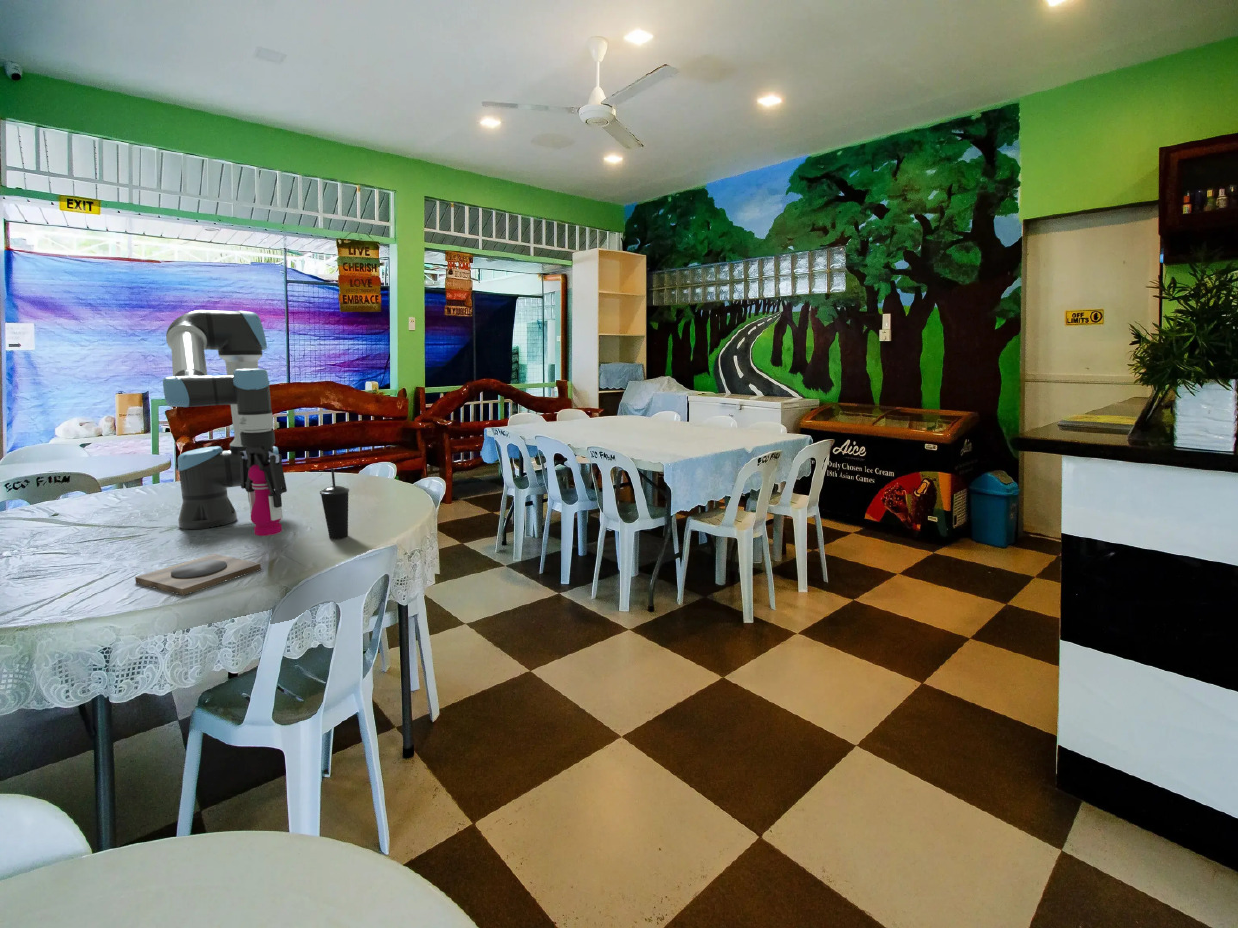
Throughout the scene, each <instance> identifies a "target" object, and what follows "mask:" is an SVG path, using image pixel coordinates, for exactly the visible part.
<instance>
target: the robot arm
mask: <svg viewBox="0 0 1238 928" xmlns="http://www.w3.org/2000/svg"><path fill="white" fill-rule="evenodd" d="M165 336H166V343H167V346H168V347H169V349H170V350H171V363H172V365H171V367H172V376H166V377H164V378H163V380H162V389H163V394H164V395H163V396H164V401H165V403H166V405H167V406H169V407H173V408H174V407H177V408H179V407H180V408H182V407H183V408H189V407H204V406H205V407H206V406H207V407H208V406H225V405H229V406H230V413H231V417H232V418H231V419H232V420H231V421H232V428H233V435H234V437H233V440H231V442H230V443H229V450H223V448H222V447H221V445H220V446H219V445H216V446H215V445H214V446H206V447H199V448H196V449H192V450H187V451H185V452H182V453H181V454H179V455H178V457H177V471H178V474H179V482H180V484H179V485H180V491H181V498H182V503H181V508H180V512H179V515H178V527H179V528H180V529H184V530H202V529H210V528H209V527H211V528H215V527H214V526H217V527H220V526H219V525H222V526H224V525H230V524H231V523H234V522H235V521H238V514H237V512H236V509H235V507H234V506H233V503H232V502H231V500H230V498H229V496H228V488H235V487H241V489H243V490H244V489H245V491H246V492H247V497H248V503H249V511H250V513H251V511H252V508H253V505H254V502H255V491H254V489H253V488H252V487H253V486H252V483H253V481H252V480H251V479H250V478H249V475H248V472H249V469H250V468H251V467H252V466H253V465H258V466H259V469H260V470H261V471H264V475H265V480H266V482H267V485H268V488H269V491H270V494H269V495H268V496H269V505H270V514H271V520H272V521H274V520H277V519H281V518H282V519H283V518H284V516H282V515H283V509H282V507H283V504H282V502H283V501H282V494H283V493H287V492H288V489H287V484H286V478H285V474H284V473H285V472H284V468H283V464H282V463H283V456H282V454H280V453H279V447H278V446H275V443H276V437H275V430H273V429H274V426H275V425H274V416H273V412H272V411H273V409H272V402H271V401H272V399H271V391H270V379H269V375H268V371H267V370H266V369H264V368H259V364H258V363H259V362H258V361H259V360H260V359H261V358H262V357H263V351H266V350H267V348H268V345H267V339H266V334H265V330H264V327H263V324H262V321H261V318H260V316H259V315H258V314H257V313H256V312H254V311H245V310H209V309H208V310H205V309H198V310H193V311H188V312H186V313H184V314H182V315H180V316H179V317H177V318H175V320H173V321H172V323H170V325H169V327H168V328H167V331H166V334H165ZM205 350H206V351H207V350H208V351H209V350H211V351H217V352H218V357H219V358H220V359H222V360H223V361H224V362H225V370H226V375H208V370H207V361H206V355H205ZM268 465H270V466H268ZM264 466H266V467H264ZM282 519H281V520H282Z"/></svg>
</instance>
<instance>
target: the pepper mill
mask: <svg viewBox="0 0 1238 928" xmlns="http://www.w3.org/2000/svg"><path fill="white" fill-rule="evenodd" d="M268 466H270V465H268ZM264 467H266V466H264ZM248 475H249V478H250V479H251V480H252V481H253V483H252V486H253V487H252V488H253V489H254V491H255V502H254V505H253V508H252V511H251V512H250V521H251V522H252V523H253V524H254V525H255V526H254V528H253V529H254V531H253V532H254V535H256V536H259V537H264V536H265V537H266V536H272V535H277V534H279V533H281V532H282V531H283V528H282V523H280V521H281V520H282V519H283V518H281V519H277V520H274V521H272V520H271V514H270V505H269V496H268V495H269V494H270V491H269V488H268V485H267V482H266V480H265V475H264V471H261V470H260V469H259V466H258V465H253V466H252V467H251V468H250V469H249V472H248ZM282 516H283V514H282ZM283 517H284V516H283Z"/></svg>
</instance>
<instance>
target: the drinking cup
mask: <svg viewBox="0 0 1238 928" xmlns="http://www.w3.org/2000/svg"><path fill="white" fill-rule="evenodd" d="M330 472H331V482H332V483H331V484H332V485H330V486H328V487H325V488H324V489H321V490H320V491H319V495H320V496H321V502H322V507H323V512H324V517H325V522H326V527H327V532H328V538H329V539H330V540H341V539H345V538H347V537H349V492H350V489H349V488H348V487H345V486H341V485H336V479H335V478H336V477H335V468H333V467H332V468H330Z"/></svg>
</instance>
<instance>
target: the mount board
mask: <svg viewBox="0 0 1238 928" xmlns="http://www.w3.org/2000/svg"><path fill="white" fill-rule="evenodd" d="M259 569H261V570H262V565H261V563H259V562H254V561H251V560H245V559H240V558H235V557H231V556H227V555H222V554H217V553H213V554H209V555H205V556H202V557H199V558H195V559H192V560H191V559H190V560H189V561H185V562H183V563H179V564H175V565H171V566H167V567H165V568H161V569H157V570H154V571H150V572H147V573H144V574H140V575H137V576H135V577H134V579H135V584H137V583H139V584H138V585H141V584H142V585H141V586H145V587H149V586H151V587H150V588H152V587H155V588H154V589H156V588H157V589H156V590H160V589H161V591H165V592H168V593H171V592H174V593H173V594H175V593H178V594H177V595H179V594H181V595H180V596H183V595H184V596H186V595H185V594H187V595H189V594H188V593H190V592H193V593H195V592H198V591H197V590H199V591H201V590H200V589H202V590H204V589H203V588H205V589H207V588H206V587H208V588H210V587H209V586H211V587H213V586H217V585H219V584H221V583H220V582H222V583H224V582H223V581H225V580H228V581H231V580H234V579H236V578H235V577H237V578H239V577H238V576H240V577H242V576H241V575H243V576H245V575H244V574H246V575H248V574H251V573H254V571H255V572H258V571H260V570H259ZM257 570H258V571H257ZM233 578H234V579H233ZM230 579H231V580H230ZM225 582H226V581H225ZM218 583H219V584H218ZM190 594H191V593H190Z"/></svg>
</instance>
